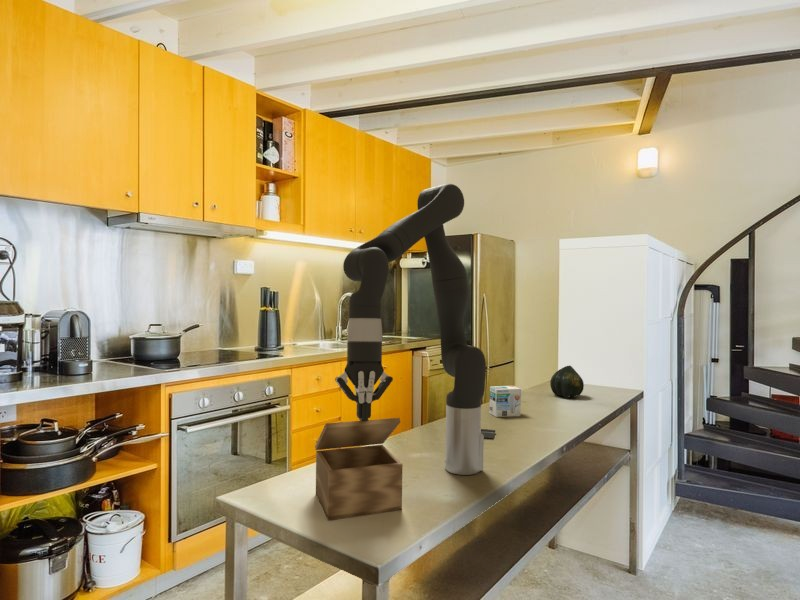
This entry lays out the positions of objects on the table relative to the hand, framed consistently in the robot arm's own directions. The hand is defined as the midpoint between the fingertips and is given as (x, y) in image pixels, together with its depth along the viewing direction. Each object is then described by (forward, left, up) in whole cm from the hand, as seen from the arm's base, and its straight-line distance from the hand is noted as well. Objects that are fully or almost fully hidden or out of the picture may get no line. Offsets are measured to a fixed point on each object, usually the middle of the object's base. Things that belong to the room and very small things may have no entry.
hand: (363, 420), depth 106 cm
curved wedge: (-52, -43, -20) cm, 70 cm away
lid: (0, -5, -5) cm, 7 cm away
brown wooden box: (0, -4, -19) cm, 20 cm away
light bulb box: (-76, -64, -20) cm, 101 cm away
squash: (-123, -86, -19) cm, 151 cm away
